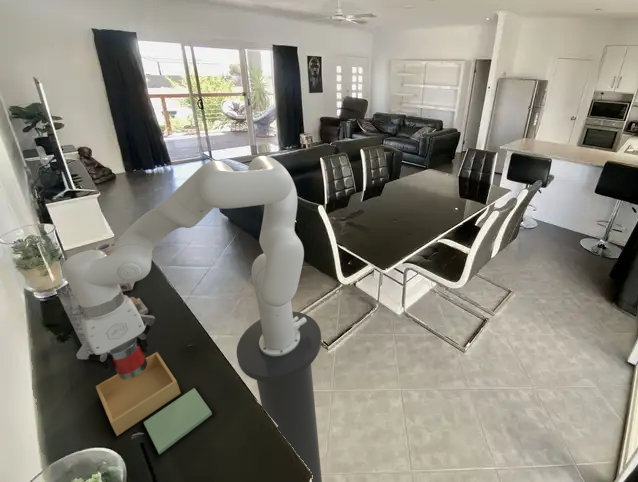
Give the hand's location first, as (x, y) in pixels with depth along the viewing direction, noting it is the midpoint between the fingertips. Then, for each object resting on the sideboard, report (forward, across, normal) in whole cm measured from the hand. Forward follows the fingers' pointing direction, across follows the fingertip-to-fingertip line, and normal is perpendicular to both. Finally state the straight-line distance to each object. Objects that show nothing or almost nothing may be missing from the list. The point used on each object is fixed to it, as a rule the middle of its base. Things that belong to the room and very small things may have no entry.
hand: (128, 357), depth 80 cm
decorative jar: (+14, +8, +59) cm, 61 cm away
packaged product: (+14, +2, +38) cm, 41 cm away
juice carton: (+14, -2, +23) cm, 27 cm away
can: (+4, 0, 0) cm, 4 cm away
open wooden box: (+14, -1, 0) cm, 14 cm away
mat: (+14, +3, -14) cm, 20 cm away
